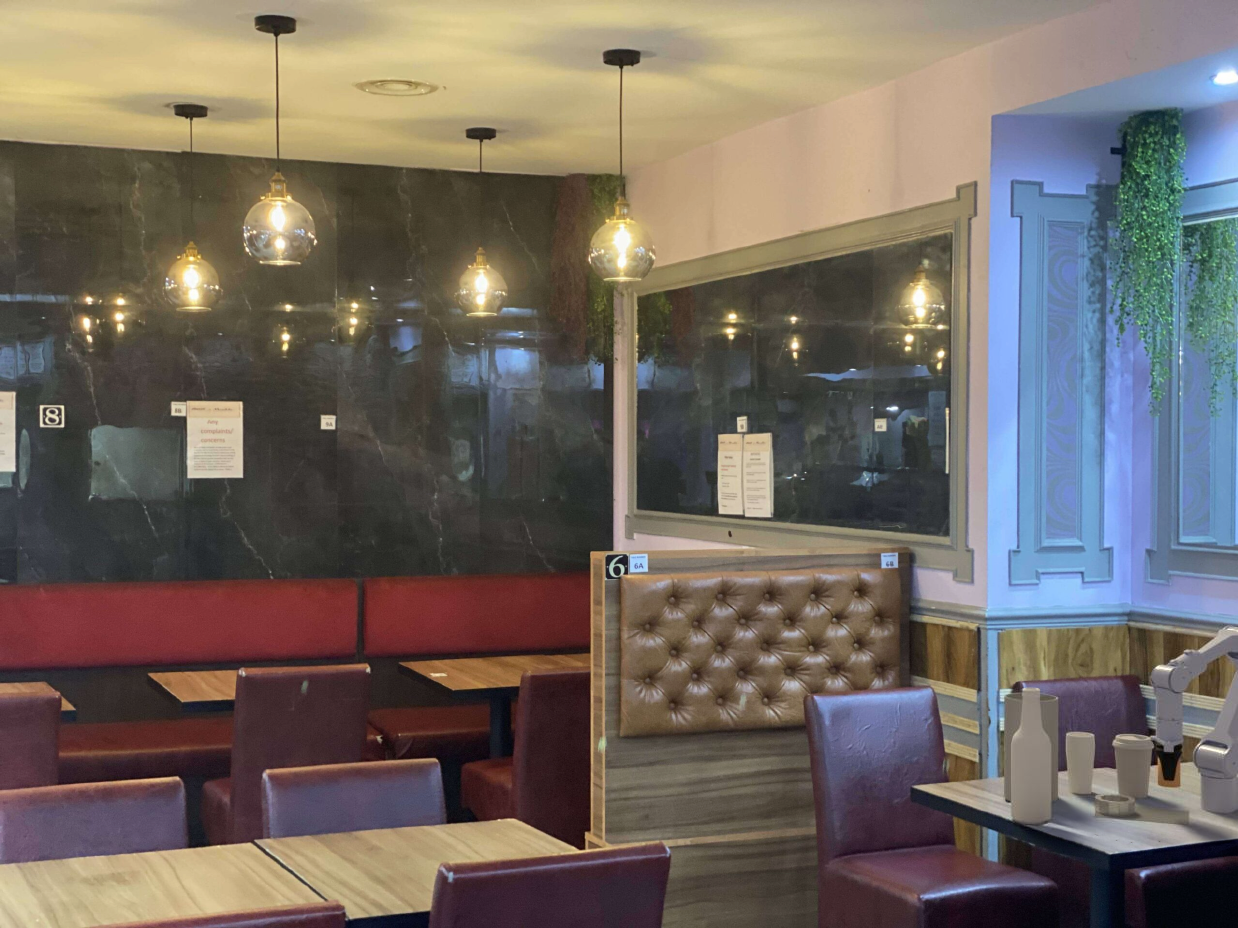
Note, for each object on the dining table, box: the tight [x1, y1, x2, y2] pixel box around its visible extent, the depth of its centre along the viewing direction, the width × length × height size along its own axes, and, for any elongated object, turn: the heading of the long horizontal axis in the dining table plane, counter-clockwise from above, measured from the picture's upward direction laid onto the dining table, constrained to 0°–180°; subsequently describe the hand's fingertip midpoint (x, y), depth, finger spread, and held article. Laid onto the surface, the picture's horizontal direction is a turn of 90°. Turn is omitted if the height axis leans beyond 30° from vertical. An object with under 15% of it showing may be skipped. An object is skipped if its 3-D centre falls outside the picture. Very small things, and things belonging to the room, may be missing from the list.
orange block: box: [1157, 756, 1181, 788], centre depth 327 cm, size 5×5×6 cm
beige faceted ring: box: [1094, 793, 1136, 816], centre depth 331 cm, size 9×9×3 cm
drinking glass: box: [1065, 731, 1096, 795], centre depth 351 cm, size 7×7×15 cm
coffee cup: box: [1111, 733, 1155, 799], centre depth 348 cm, size 10×10×15 cm
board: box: [1093, 805, 1190, 826], centre depth 329 cm, size 20×14×1 cm
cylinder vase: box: [1003, 692, 1059, 803], centre depth 346 cm, size 12×12×25 cm
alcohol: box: [1010, 687, 1052, 826], centre depth 327 cm, size 9×9×30 cm
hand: (1169, 777), depth 327 cm, fingers closed on orange block, 5 cm apart
